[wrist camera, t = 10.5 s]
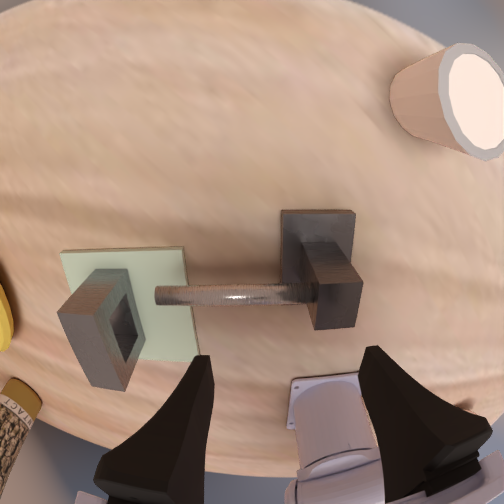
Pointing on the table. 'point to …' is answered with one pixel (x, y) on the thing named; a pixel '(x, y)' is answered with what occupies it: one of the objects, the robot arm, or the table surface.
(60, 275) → the table surface
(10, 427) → the paper tube
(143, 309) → the coaster
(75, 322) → the grey hollow frame block
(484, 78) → the white cup
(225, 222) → the table surface
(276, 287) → the post
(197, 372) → the robot arm
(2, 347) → the vase
